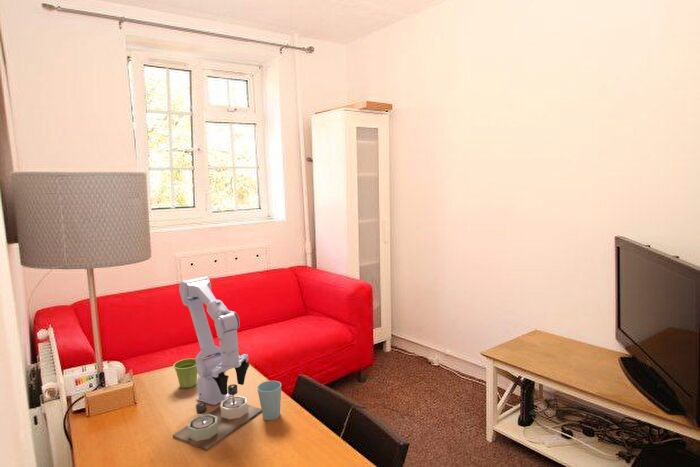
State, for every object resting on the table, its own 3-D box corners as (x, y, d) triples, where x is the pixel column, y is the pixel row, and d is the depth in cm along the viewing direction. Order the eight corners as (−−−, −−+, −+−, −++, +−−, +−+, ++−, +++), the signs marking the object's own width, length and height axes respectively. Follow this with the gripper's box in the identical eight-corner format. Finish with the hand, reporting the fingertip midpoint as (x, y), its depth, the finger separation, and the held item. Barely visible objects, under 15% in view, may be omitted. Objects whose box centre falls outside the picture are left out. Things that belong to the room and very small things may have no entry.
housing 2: (216, 415, 145) (215, 405, 145) (234, 403, 152) (233, 394, 152) (234, 421, 141) (233, 411, 140) (252, 408, 148) (252, 399, 148)
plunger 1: (188, 425, 134) (186, 407, 133) (203, 416, 139) (202, 398, 138) (201, 430, 131) (200, 411, 130) (217, 420, 136) (215, 402, 135)
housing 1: (183, 435, 134) (182, 425, 134) (205, 422, 141) (204, 412, 141) (202, 443, 130) (201, 432, 129) (223, 428, 137) (222, 418, 137)
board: (172, 437, 135) (172, 435, 135) (230, 401, 155) (230, 399, 155) (206, 450, 127) (206, 448, 127) (262, 411, 148) (262, 409, 148)
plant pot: (191, 377, 176) (189, 356, 175) (206, 382, 170) (204, 361, 169) (170, 386, 168) (168, 365, 167) (185, 392, 163) (182, 370, 162)
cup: (258, 423, 140) (256, 392, 139) (260, 411, 148) (258, 381, 146) (282, 420, 141) (280, 390, 140) (283, 408, 149) (281, 379, 147)
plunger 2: (220, 405, 145) (219, 388, 144) (233, 397, 150) (232, 380, 150) (233, 409, 142) (232, 392, 141) (246, 401, 147) (245, 384, 146)
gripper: (221, 360, 136) (224, 401, 137) (253, 343, 148) (256, 382, 150) (205, 356, 139) (209, 396, 141) (238, 340, 152) (241, 378, 153)
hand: (232, 389), depth 146 cm, fingers open, 7 cm apart
